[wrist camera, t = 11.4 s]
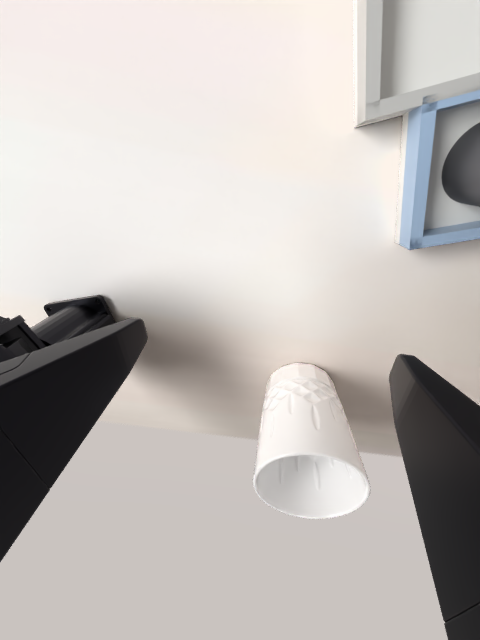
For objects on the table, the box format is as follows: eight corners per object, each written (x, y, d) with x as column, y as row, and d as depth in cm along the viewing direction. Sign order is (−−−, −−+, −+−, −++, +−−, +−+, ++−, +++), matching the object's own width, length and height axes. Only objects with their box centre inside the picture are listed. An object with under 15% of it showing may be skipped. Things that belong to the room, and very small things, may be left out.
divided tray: (354, 248, 19) (364, 257, 17) (352, -69, 12) (367, -119, 10) (524, 220, 17) (559, 225, 15) (637, -186, 10) (729, -280, 8)
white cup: (352, 399, 26) (389, 508, 18) (285, 423, 29) (288, 526, 21) (316, 344, 24) (338, 439, 15) (246, 376, 27) (231, 471, 18)
